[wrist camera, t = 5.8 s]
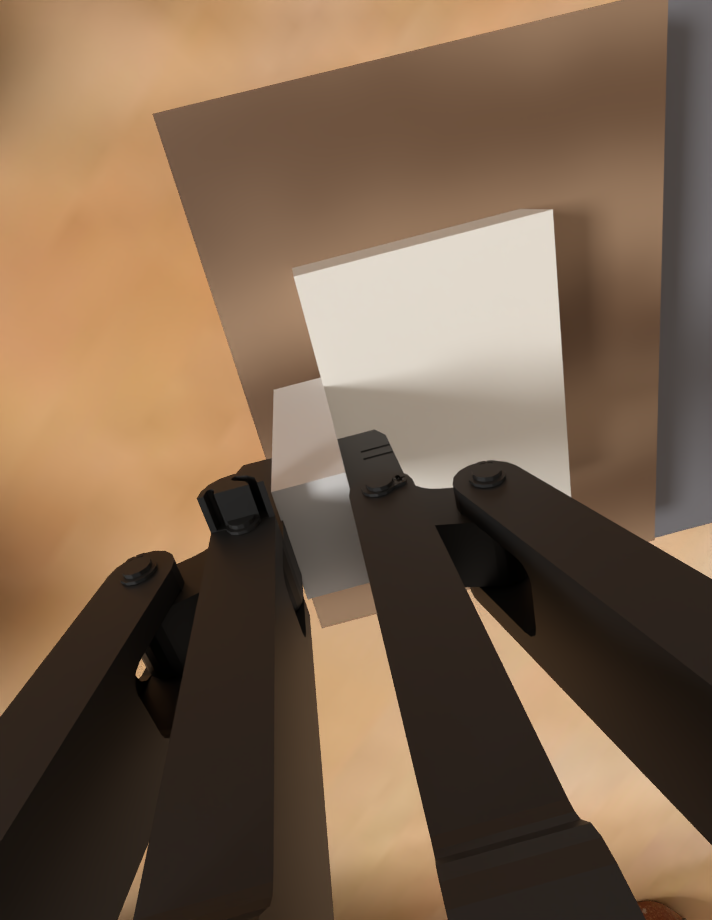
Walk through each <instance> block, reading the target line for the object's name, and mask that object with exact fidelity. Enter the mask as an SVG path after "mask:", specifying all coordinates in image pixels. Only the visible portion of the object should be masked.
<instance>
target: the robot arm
mask: <svg viewBox="0 0 712 920" xmlns="http://www.w3.org/2000/svg"><path fill="white" fill-rule="evenodd" d="M197 500H198V502H199V505H200V507H201V510H202V512H203V514H204V517H205V519H206V522H207V524H208V527H209V529H210V531H211V537H210V542H209V547H208V549H206V550H205V551H203V552H201V553H200V554H198V555H196V556H194V557H192V558H189V559H187V560H185V561H183V562H181V563H178V564H176V562H175V560H174V558H173V555H172V554H170V553H168V552H166V551H152V552H148V553H142V554H139V555H136V557H135V556H134V557H132V558H130V559H128V560H127V561H126V562H125V563H123V564H122V565H120V566H119V567H117V568H116V569H115V570H114V571H113V572H112V573H111V574H110V575H109V576H108V578H107V579H106V580H105V581H104V583H103V584H102V585H101V587H100V588H99V589H98V591H97V592H96V593H95V594H94V596H93V597H92V598H91V600H90V601H89V602H88V604H87V605H86V606H85V607H84V609H83V610H82V611H81V613H80V614H79V615H78V617H77V618H76V619H75V620H74V622H73V623H72V624H71V626H70V627H69V628H68V630H67V631H66V632H65V634H64V635H63V636H62V637H61V639H60V640H59V641H58V643H57V644H56V645H55V647H54V648H53V649H52V650H51V652H50V653H49V654H48V656H47V657H46V658H45V660H44V661H43V662H42V663H41V665H40V666H39V667H38V669H37V670H36V671H35V673H34V674H33V675H32V676H31V678H30V679H29V680H28V682H27V683H26V684H25V686H24V687H23V688H22V689H21V691H20V692H19V693H18V695H17V696H16V697H15V699H14V700H13V701H12V702H11V704H10V705H9V706H8V708H7V709H6V710H5V712H4V713H3V714H2V716H1V717H0V920H117V919H118V917H119V914H120V912H121V910H122V907H123V905H124V902H125V900H126V897H127V895H128V892H129V890H130V887H131V885H132V882H133V880H134V877H135V875H136V872H137V870H138V867H139V865H140V863H141V860H142V858H143V855H144V853H145V850H146V848H147V845H148V849H147V854H146V859H145V864H144V869H143V874H142V879H141V884H140V889H139V894H138V899H137V904H136V909H135V914H134V919H133V920H334V914H333V901H332V889H331V876H330V864H329V851H328V838H327V826H326V813H325V801H324V788H323V776H322V763H321V751H320V738H319V726H318V713H317V701H316V688H315V676H314V663H313V651H312V638H311V625H310V614H309V612H308V609H307V606H306V603H305V600H304V597H303V587H304V590H305V592H306V595H307V598H308V599H311V598H315V597H318V596H322V595H326V594H329V593H333V592H337V591H341V590H344V589H348V588H352V587H355V586H359V585H363V584H367V583H370V587H371V591H372V595H373V599H374V603H375V608H376V612H377V616H378V620H379V624H380V628H381V633H382V637H383V641H384V645H385V649H386V654H387V658H388V662H389V666H390V670H391V675H392V679H393V683H394V687H395V691H396V695H397V700H398V704H399V708H400V712H401V716H402V721H403V725H404V729H405V733H406V737H407V742H408V746H409V750H410V754H411V758H412V763H413V767H414V771H415V775H416V779H417V783H418V788H419V792H420V796H421V800H422V804H423V809H424V813H425V817H426V821H427V825H428V830H429V834H430V838H431V842H432V846H433V851H434V856H435V861H436V869H437V873H438V878H439V883H440V887H441V892H442V896H443V900H444V905H445V909H446V913H447V917H448V920H646V919H645V917H644V915H643V913H642V911H641V909H640V907H639V905H638V903H637V901H636V899H635V898H634V896H633V894H632V892H631V890H630V888H629V886H628V884H627V882H626V880H625V878H624V876H623V874H622V872H621V870H620V868H619V866H618V864H617V863H616V861H615V859H614V857H613V855H612V854H611V852H610V850H609V848H608V847H607V845H606V843H605V841H604V840H603V838H602V836H601V835H600V834H599V832H598V831H597V830H596V829H595V827H594V826H593V825H592V823H590V822H587V821H584V820H581V819H580V818H579V816H578V815H577V814H576V812H575V811H574V809H573V807H572V805H571V804H570V802H569V800H568V798H567V796H566V794H565V792H564V790H563V788H562V786H561V784H560V782H559V780H558V777H557V775H556V773H555V771H554V769H553V767H552V765H551V763H550V761H549V759H548V757H547V755H546V753H545V751H544V749H543V747H542V745H541V743H540V740H539V738H538V736H537V734H536V732H535V730H534V728H533V726H532V724H531V722H530V720H529V718H528V716H527V714H526V712H525V710H524V708H523V705H522V703H521V701H520V699H519V697H518V695H517V693H516V691H515V689H514V687H513V685H512V683H511V681H510V679H509V677H508V675H507V673H506V671H505V668H504V666H503V664H502V662H501V660H500V658H499V656H498V654H497V652H496V650H495V648H494V646H493V644H492V642H491V640H490V638H489V636H488V634H487V631H486V629H485V627H484V625H483V623H482V621H481V619H480V617H479V615H478V613H477V611H476V609H475V607H474V605H473V603H472V601H471V599H470V597H469V594H468V592H467V590H466V588H465V587H470V589H471V592H472V593H473V595H474V597H475V598H476V599H477V601H478V602H479V603H480V604H481V605H482V606H483V607H484V608H485V609H486V610H487V611H488V612H489V613H490V614H491V615H492V616H493V617H494V618H495V619H496V620H497V621H498V622H499V623H500V624H501V626H502V627H503V628H504V629H505V630H506V631H507V632H508V633H509V634H510V635H511V636H512V637H513V638H514V639H515V640H516V641H517V642H518V643H519V644H520V645H521V646H522V647H523V648H524V650H525V651H526V652H527V653H528V654H529V655H530V656H531V657H532V658H533V659H534V660H535V661H536V662H537V663H538V664H539V665H540V666H541V667H542V668H543V669H544V670H545V671H546V672H547V674H548V675H549V676H550V677H551V678H552V679H553V680H554V681H555V682H556V683H557V684H558V685H559V686H560V687H561V688H562V689H563V690H564V691H565V692H566V693H567V694H568V695H569V696H570V698H571V699H572V700H573V701H574V702H575V703H576V704H577V705H578V706H579V707H580V708H581V709H582V710H583V711H584V712H585V713H586V714H587V715H588V716H589V717H590V718H591V719H592V720H593V722H594V723H595V724H596V725H597V726H598V727H599V728H600V729H601V730H602V731H603V732H604V733H605V734H606V735H607V736H608V737H609V738H610V739H611V740H612V741H613V742H614V743H615V744H616V746H617V747H618V748H619V749H620V750H621V751H622V752H623V753H624V754H625V755H626V756H627V757H628V758H629V759H630V760H631V761H632V762H633V763H634V764H635V765H636V766H637V767H638V768H639V770H640V771H641V772H642V773H643V774H644V775H645V776H646V777H647V778H648V779H649V780H650V781H651V782H652V783H653V784H654V785H655V786H656V787H657V788H658V789H659V790H660V791H661V792H662V794H663V795H664V796H665V797H666V798H667V799H668V800H669V801H670V802H671V803H672V804H673V805H674V806H675V807H676V808H677V809H678V810H679V811H680V812H681V813H682V814H683V815H684V816H685V818H686V819H687V820H688V821H689V822H690V823H691V824H692V825H693V826H694V827H695V828H696V829H697V830H698V831H699V832H700V833H701V834H702V835H703V836H704V837H705V838H706V839H707V840H708V842H709V843H710V844H711V845H712V579H711V578H709V577H707V576H705V575H704V574H702V573H700V572H699V571H697V570H695V569H693V568H692V567H690V566H688V565H687V564H685V563H683V562H681V561H680V560H678V559H676V558H675V557H673V556H671V555H669V554H668V553H666V552H664V551H663V550H661V549H659V548H657V547H656V546H654V545H652V544H651V543H649V542H647V541H645V540H644V539H642V538H640V537H639V536H637V535H635V534H633V533H632V532H630V531H628V530H626V529H625V528H623V527H621V526H620V525H618V524H616V523H614V522H613V521H611V520H609V519H608V518H606V517H604V516H602V515H601V514H599V513H597V512H596V511H594V510H592V509H590V508H589V507H587V506H585V505H584V504H582V503H580V502H578V501H577V500H575V499H573V498H572V497H570V496H568V495H566V494H565V493H563V492H561V491H560V490H558V489H556V488H554V487H553V486H551V485H549V484H548V483H546V482H544V481H542V480H541V479H539V478H537V477H536V476H534V475H532V474H530V473H529V472H527V471H525V470H524V469H522V468H520V467H518V466H517V465H514V464H511V463H508V462H503V461H495V460H487V461H480V462H477V463H475V464H472V465H469V466H467V467H465V468H463V469H461V470H460V471H458V473H457V474H456V475H455V476H454V477H453V488H441V489H429V488H422V487H419V486H416V485H415V483H414V481H413V479H412V478H411V477H410V476H409V475H408V474H405V473H403V471H402V468H401V466H400V464H399V462H398V460H397V458H396V456H395V454H394V452H393V449H392V447H391V445H390V443H389V441H388V439H387V437H386V435H385V434H383V433H381V432H379V431H377V430H375V429H374V430H370V431H367V432H363V433H359V434H355V435H351V436H348V437H344V438H340V439H338V438H337V435H336V431H335V427H334V423H333V420H332V416H331V412H330V408H329V405H328V401H327V397H326V393H325V390H324V386H323V384H322V380H321V378H317V379H313V380H309V381H305V382H301V383H298V384H294V385H290V386H286V387H282V388H279V389H275V390H274V398H273V437H272V458H270V459H266V460H262V461H259V462H255V463H251V464H247V465H243V466H242V467H241V469H240V470H239V471H238V472H237V473H236V474H233V475H230V476H227V477H224V478H221V479H219V480H217V481H215V482H213V483H212V484H210V485H208V486H207V487H206V488H205V489H204V490H202V491H201V492H200V494H199V496H198V497H197ZM141 658H142V660H143V662H144V664H145V666H146V669H145V671H144V673H143V674H142V676H141V677H140V678H139V679H138V678H137V677H136V670H137V667H138V665H139V662H140V660H141ZM148 843H149V844H148Z"/></svg>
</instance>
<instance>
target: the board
mask: <svg viewBox="0 0 712 920" xmlns="http://www.w3.org/2000/svg"><path fill="white" fill-rule="evenodd" d="M667 28H668V0H621V1H616V2H612V3H608V4H604V5H600V6H596V7H592V8H588V9H583V10H579V11H575V12H571V13H567V14H563V15H559V16H555V17H550V18H546V19H542V20H538V21H534V22H530V23H526V24H522V25H517V26H513V27H509V28H505V29H501V30H497V31H493V32H489V33H484V34H480V35H476V36H472V37H468V38H464V39H460V40H456V41H452V42H447V43H443V44H439V45H435V46H431V47H427V48H423V49H419V50H414V51H410V52H406V53H402V54H398V55H394V56H390V57H386V58H381V59H377V60H373V61H369V62H365V63H361V64H357V65H353V66H348V67H344V68H340V69H336V70H332V71H328V72H324V73H320V74H315V75H311V76H307V77H303V78H299V79H295V80H291V81H287V82H282V83H278V84H274V85H270V86H266V87H262V88H258V89H254V90H249V91H245V92H241V93H237V94H233V95H229V96H225V97H221V98H217V99H212V100H208V101H204V102H200V103H196V104H192V105H188V106H184V107H179V108H175V109H171V110H167V111H163V112H159V113H155V114H153V117H154V120H155V123H156V126H157V129H158V132H159V135H160V138H161V141H162V144H163V147H164V150H165V153H166V156H167V159H168V162H169V165H170V168H171V171H172V174H173V177H174V180H175V183H176V187H177V190H178V193H179V196H180V199H181V202H182V205H183V208H184V211H185V214H186V217H187V220H188V223H189V226H190V229H191V232H192V235H193V238H194V241H195V244H196V247H197V250H198V253H199V256H200V259H201V263H202V266H203V269H204V272H205V275H206V278H207V281H208V284H209V287H210V290H211V293H212V296H213V299H214V302H215V305H216V308H217V311H218V314H219V317H220V320H221V323H222V326H223V329H224V332H225V335H226V339H227V342H228V345H229V348H230V351H231V354H232V357H233V360H234V363H235V366H236V369H237V372H238V375H239V378H240V381H241V384H242V387H243V390H244V393H245V396H246V399H247V402H248V405H249V408H250V411H251V414H252V418H253V421H254V424H255V427H256V430H257V433H258V436H259V439H260V442H261V445H262V448H263V451H264V454H265V457H266V459H270V458H272V437H273V398H274V390H275V389H279V388H282V387H286V386H290V385H294V384H298V383H301V382H305V381H309V380H313V379H317V378H321V376H320V372H319V369H318V365H317V361H316V358H315V354H314V350H313V347H312V343H311V339H310V335H309V332H308V328H307V324H306V321H305V317H304V313H303V309H302V306H301V302H300V298H299V295H298V291H297V287H296V284H295V280H294V276H293V271H292V268H295V267H298V266H302V265H306V264H310V263H314V262H318V261H322V260H325V259H329V258H333V257H337V256H341V255H345V254H348V253H352V252H356V251H360V250H364V249H368V248H372V247H375V246H379V245H383V244H387V243H391V242H395V241H398V240H402V239H406V238H410V237H414V236H418V235H422V234H425V233H429V232H433V231H437V230H441V229H445V228H449V227H452V226H456V225H460V224H464V223H468V222H472V221H475V220H479V219H483V218H487V217H491V216H495V215H499V214H502V213H506V212H510V211H514V210H518V209H553V220H554V236H555V251H556V267H557V283H558V298H559V314H560V330H561V345H562V361H563V377H564V392H565V408H566V424H567V439H568V455H569V471H570V486H571V497H572V498H573V499H575V500H577V501H578V502H580V503H582V504H584V505H585V506H587V507H589V508H590V509H592V510H594V511H596V512H597V513H599V514H601V515H602V516H604V517H606V518H608V519H609V520H611V521H613V522H614V523H616V524H618V525H620V526H621V527H623V528H625V529H626V530H628V531H630V532H632V533H633V534H635V535H637V536H639V537H640V538H642V539H644V540H645V541H647V542H649V541H652V540H655V502H656V462H657V423H658V383H659V344H660V304H661V265H662V225H663V186H664V146H665V107H666V67H667ZM465 588H466V590H468V589H470V587H465ZM312 600H313V603H314V606H315V609H316V612H317V615H318V618H319V621H320V624H321V627H322V628H325V627H328V626H332V625H336V624H340V623H344V622H347V621H351V620H355V619H359V618H362V617H366V616H370V615H374V614H377V612H376V608H375V603H374V599H373V595H372V591H371V587H370V583H367V584H363V585H359V586H355V587H352V588H348V589H344V590H341V591H337V592H333V593H329V594H326V595H322V596H318V597H315V598H312Z"/></svg>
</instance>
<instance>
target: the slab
mask: <svg viewBox="0 0 712 920" xmlns="http://www.w3.org/2000/svg"><path fill="white" fill-rule="evenodd" d="M292 271H293V276H294V280H295V284H296V287H297V291H298V295H299V298H300V302H301V306H302V309H303V313H304V317H305V321H306V324H307V328H308V332H309V335H310V339H311V343H312V347H313V350H314V354H315V358H316V361H317V365H318V369H319V372H320V376H321V380H322V384H323V386H324V390H325V393H326V397H327V401H328V405H329V408H330V412H331V416H332V420H333V423H334V427H335V431H336V435H337V438H338V439H340V438H344V437H348V436H351V435H355V434H359V433H363V432H367V431H370V430H374V429H375V430H377V431H379V432H381V433H383V434H385V435H386V437H387V439H388V441H389V443H390V445H391V447H392V449H393V452H394V454H395V456H396V458H397V460H398V462H399V464H400V466H401V468H402V471H403V473H405V474H408V475H409V476H410V477H411V478H412V479H413V481H414V483H415V485H416V486H419V487H422V488H429V489H441V488H453V477H454V476H455V475H456V474H457V473H458V471H460V470H461V469H463V468H465V467H467V466H469V465H472V464H475V463H477V462H480V461H487V460H495V461H503V462H508V463H511V464H514V465H517V466H518V467H520V468H522V469H524V470H525V471H527V472H529V473H530V474H532V475H534V476H536V477H537V478H539V479H541V480H542V481H544V482H546V483H548V484H549V485H551V486H553V487H554V488H556V489H558V490H560V491H561V492H563V493H565V494H566V495H568V496H570V497H571V486H570V471H569V455H568V439H567V424H566V408H565V392H564V377H563V361H562V345H561V330H560V314H559V298H558V283H557V267H556V251H555V236H554V220H553V209H518V210H514V211H510V212H506V213H502V214H499V215H495V216H491V217H487V218H483V219H479V220H475V221H472V222H468V223H464V224H460V225H456V226H452V227H449V228H445V229H441V230H437V231H433V232H429V233H425V234H422V235H418V236H414V237H410V238H406V239H402V240H398V241H395V242H391V243H387V244H383V245H379V246H375V247H372V248H368V249H364V250H360V251H356V252H352V253H348V254H345V255H341V256H337V257H333V258H329V259H325V260H322V261H318V262H314V263H310V264H306V265H302V266H298V267H295V268H292Z"/></svg>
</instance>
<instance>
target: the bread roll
mask: <svg viewBox="0 0 712 920" xmlns="http://www.w3.org/2000/svg"><path fill="white" fill-rule="evenodd" d="M637 903H638V905H639V907H640V909H641V911H642V913H643V915H644V917H645V919H646V920H686V918H681V916H680V915H679V914H678V913H676V912H674V911H673V910H671V909H669V908H668V907H667V906H665V905H664V904H662V903H659V902H654V901H641V902H637Z"/></svg>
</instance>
